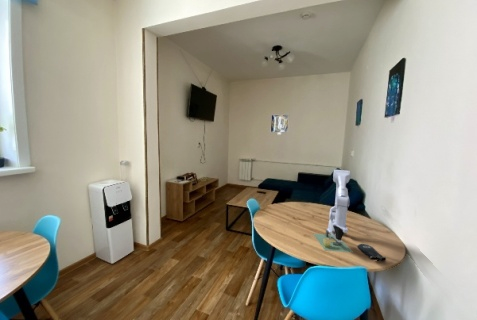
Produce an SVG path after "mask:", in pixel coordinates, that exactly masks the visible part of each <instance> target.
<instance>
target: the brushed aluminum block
mask: <svg viewBox="0 0 477 320" xmlns="http://www.w3.org/2000/svg"><path fill="white" fill-rule="evenodd" d="M329 239H334V238H333V237H329ZM335 241H336V242H331V243H332V244H333V245H342V242H338V241H337V240H336V239H335Z"/></svg>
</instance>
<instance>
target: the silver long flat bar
mask: <svg viewBox="0 0 477 320" xmlns="http://www.w3.org/2000/svg"><path fill="white" fill-rule="evenodd" d="M328 235H331V236H332V237H333V238H334V239H336V240H337V241H338V242H344V241H343V239H341V240H338V239H337V238H336V236H335V234H333V233H332V232H329V233H328Z"/></svg>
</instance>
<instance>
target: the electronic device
mask: <svg viewBox="0 0 477 320" xmlns="http://www.w3.org/2000/svg"><path fill="white" fill-rule="evenodd" d="M356 246H357V249H358V250H359V251H360V252H361V253H363V254H364V255H365V256H367V257H368V258H369V259H370V260H371V259H372V258H376V257H377V258H376V259H378V260H377V261H376V262H380V261H381V262H385V261H387V258H386V256H383V255H381V253H380V252H378V251H377V250H376V249H375V248H374V247H373V246H371V245H369V244H365V243H359V244H358V245H356Z"/></svg>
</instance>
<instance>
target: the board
mask: <svg viewBox="0 0 477 320" xmlns="http://www.w3.org/2000/svg"><path fill="white" fill-rule="evenodd" d="M328 233H329V231H328V230H327V229H325V233H324V234H323V233H313V236H314V237H315V239H316V240H317V241H318V243H319V245H320V246H321V247H322V249H323V250H324V251H326V252H327V251H329V252H338V253H339V252H341V253H354V251H353V250H352V249H351V248H350V247H349V246H348V244H346V243H345V241H343V242H342V245H333V244H332V243H331V244H330V248H329V247H324V245H323V239H324V238H329V237H332V236H331V235H330V234H328ZM332 233H333V234H335V231H333V230H332Z"/></svg>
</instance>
